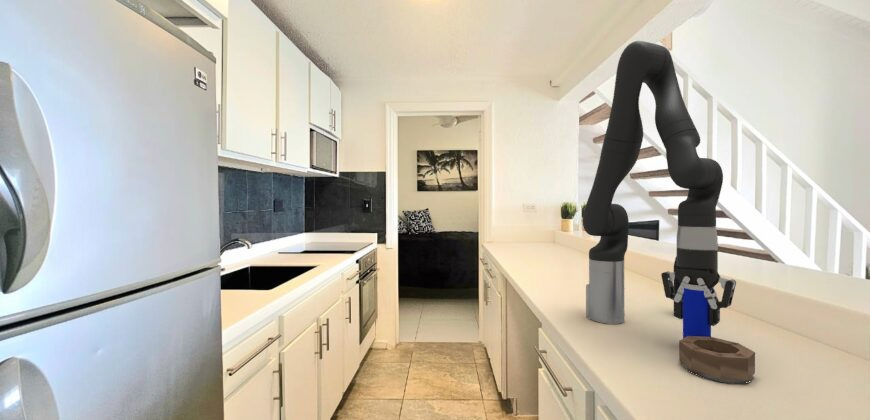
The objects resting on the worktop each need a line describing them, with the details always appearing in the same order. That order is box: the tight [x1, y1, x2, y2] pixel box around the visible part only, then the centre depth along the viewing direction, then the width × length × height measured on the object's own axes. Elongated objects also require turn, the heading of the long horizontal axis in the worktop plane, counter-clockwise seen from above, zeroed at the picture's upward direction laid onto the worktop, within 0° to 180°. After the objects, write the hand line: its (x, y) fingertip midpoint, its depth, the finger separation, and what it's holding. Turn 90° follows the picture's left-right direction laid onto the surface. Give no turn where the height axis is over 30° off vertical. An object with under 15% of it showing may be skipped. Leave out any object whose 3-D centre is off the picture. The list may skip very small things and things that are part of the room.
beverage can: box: [682, 284, 712, 339], centre depth 82 cm, size 5×5×15 cm
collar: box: [678, 336, 756, 384], centre depth 72 cm, size 11×11×5 cm
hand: (696, 321), depth 82 cm, fingers open, 5 cm apart
